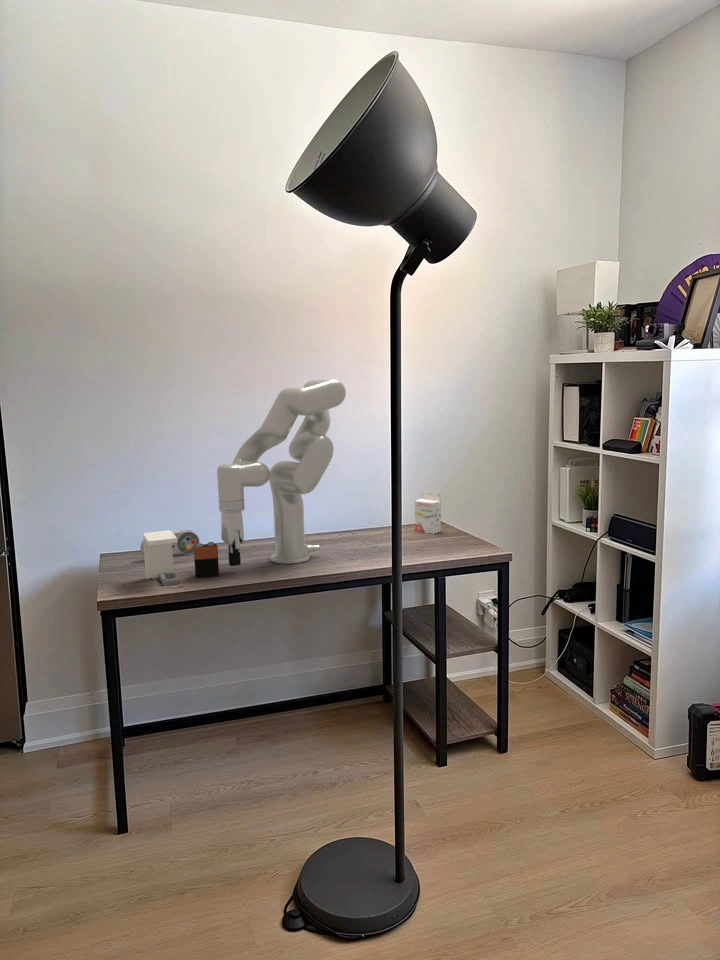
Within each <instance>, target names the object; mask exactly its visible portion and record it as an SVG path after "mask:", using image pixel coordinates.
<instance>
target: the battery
mask: <svg viewBox="0 0 720 960" xmlns="http://www.w3.org/2000/svg"><path fill="white" fill-rule="evenodd" d="M218 548H219V547H218V544H217V543H215V542H214V541H209V542H208V541H207V543H206V544H203V543H201V542H200V543H198V544H197V545H195V546H194V553H193V557H194V558H193V559H194V560H193V561H194V572H195V578H196V579H199V578H201V579H203V578H213V577H214V578H215V577H219V576H220V569H219V568H220V567H219V564H220V563H219V552H218V551H219V549H218Z"/></svg>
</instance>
